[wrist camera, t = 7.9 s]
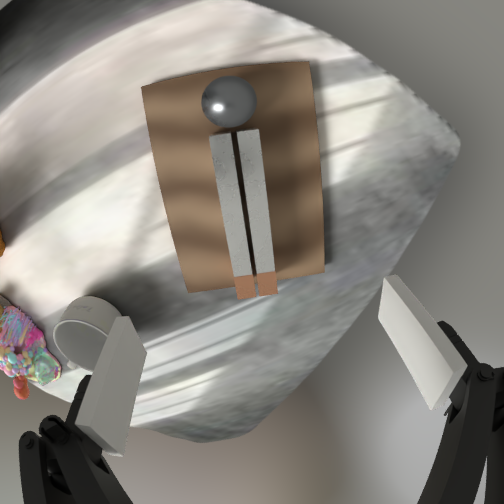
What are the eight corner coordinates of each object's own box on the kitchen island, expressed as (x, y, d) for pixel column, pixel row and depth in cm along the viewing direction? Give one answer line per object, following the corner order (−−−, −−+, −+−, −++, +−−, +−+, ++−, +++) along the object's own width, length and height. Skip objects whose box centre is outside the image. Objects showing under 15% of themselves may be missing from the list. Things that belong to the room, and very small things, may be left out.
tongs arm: (235, 130, 28) (236, 132, 24) (255, 127, 28) (259, 129, 24) (256, 277, 36) (259, 296, 33) (273, 274, 36) (277, 293, 33)
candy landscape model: (-29, 316, 39) (-48, 340, 31) (-4, 272, 35) (-32, 300, 27) (39, 387, 50) (27, 414, 42) (83, 365, 46) (69, 401, 37)
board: (144, 88, 26) (141, 86, 25) (305, 63, 26) (308, 61, 25) (189, 286, 38) (188, 293, 37) (321, 266, 38) (324, 272, 37)
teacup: (98, 274, 36) (75, 308, 29) (147, 324, 41) (135, 363, 34) (54, 312, 39) (34, 343, 32) (98, 353, 44) (84, 386, 36)
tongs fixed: (202, 85, 26) (197, 80, 22) (250, 78, 26) (253, 72, 22) (235, 279, 36) (236, 299, 33) (275, 273, 36) (280, 293, 33)
